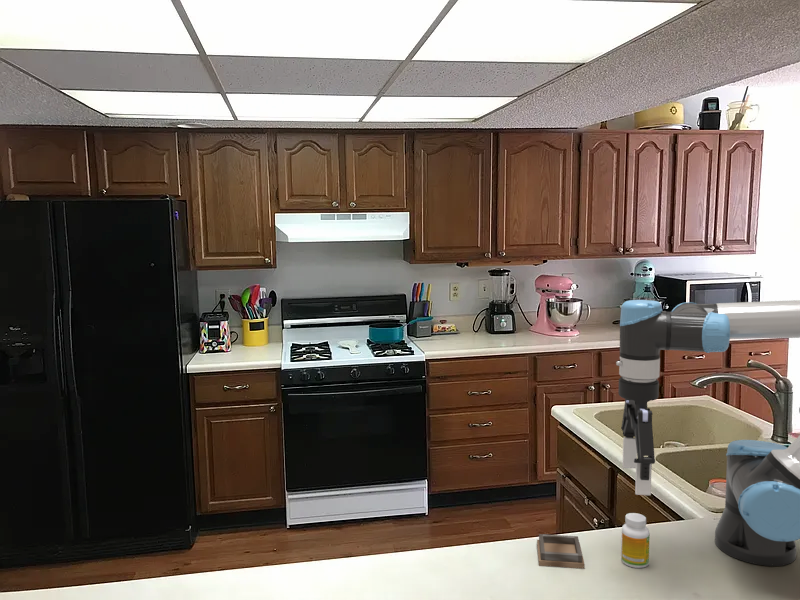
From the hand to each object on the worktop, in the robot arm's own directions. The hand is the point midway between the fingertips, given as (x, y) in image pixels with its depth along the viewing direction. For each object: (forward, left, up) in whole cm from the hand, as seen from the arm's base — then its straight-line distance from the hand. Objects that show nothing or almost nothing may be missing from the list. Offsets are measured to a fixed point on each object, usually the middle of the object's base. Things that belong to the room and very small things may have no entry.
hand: (635, 480), depth 129 cm
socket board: (+15, 0, -18) cm, 23 cm away
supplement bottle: (0, 0, -18) cm, 18 cm away
